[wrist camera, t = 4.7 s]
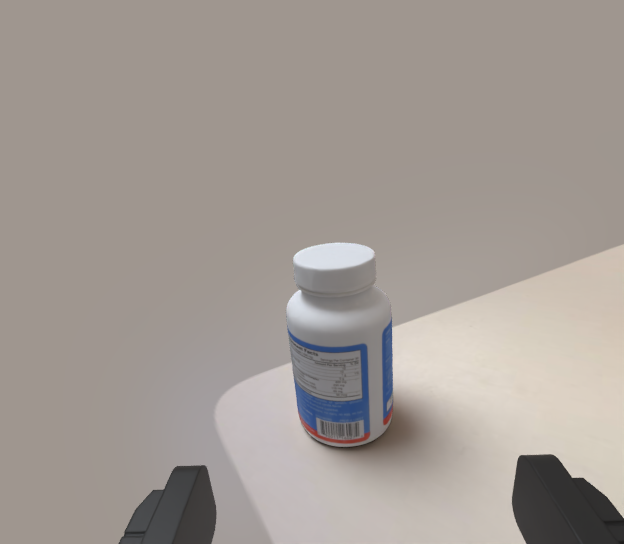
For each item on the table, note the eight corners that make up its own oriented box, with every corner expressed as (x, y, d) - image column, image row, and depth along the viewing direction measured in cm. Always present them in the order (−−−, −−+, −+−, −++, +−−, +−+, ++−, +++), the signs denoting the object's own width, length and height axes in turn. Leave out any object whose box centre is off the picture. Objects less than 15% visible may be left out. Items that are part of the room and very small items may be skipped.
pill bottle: (348, 373, 25) (342, 232, 22) (412, 416, 21) (417, 251, 18) (279, 411, 22) (259, 255, 19) (338, 470, 18) (326, 283, 15)
